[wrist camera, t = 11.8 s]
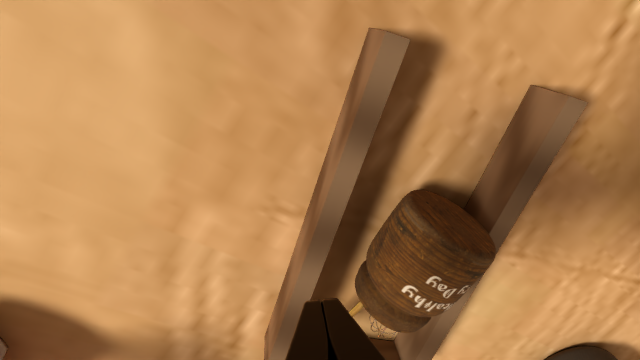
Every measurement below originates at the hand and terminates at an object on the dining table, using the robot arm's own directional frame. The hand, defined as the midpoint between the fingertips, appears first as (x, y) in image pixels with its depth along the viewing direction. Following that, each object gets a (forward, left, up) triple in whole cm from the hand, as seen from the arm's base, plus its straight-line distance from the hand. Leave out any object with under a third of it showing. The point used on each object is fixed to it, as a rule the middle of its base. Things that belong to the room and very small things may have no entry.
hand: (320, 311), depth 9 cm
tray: (+3, +8, -13) cm, 15 cm away
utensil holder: (+1, +9, -9) cm, 13 cm away
